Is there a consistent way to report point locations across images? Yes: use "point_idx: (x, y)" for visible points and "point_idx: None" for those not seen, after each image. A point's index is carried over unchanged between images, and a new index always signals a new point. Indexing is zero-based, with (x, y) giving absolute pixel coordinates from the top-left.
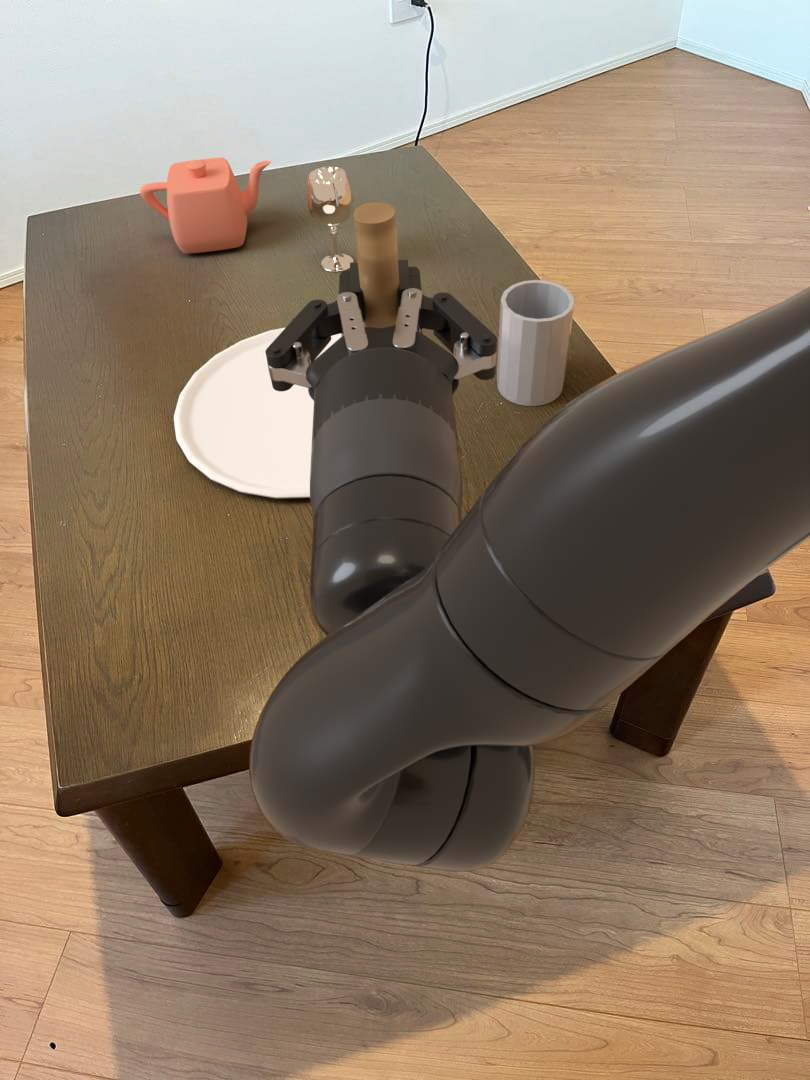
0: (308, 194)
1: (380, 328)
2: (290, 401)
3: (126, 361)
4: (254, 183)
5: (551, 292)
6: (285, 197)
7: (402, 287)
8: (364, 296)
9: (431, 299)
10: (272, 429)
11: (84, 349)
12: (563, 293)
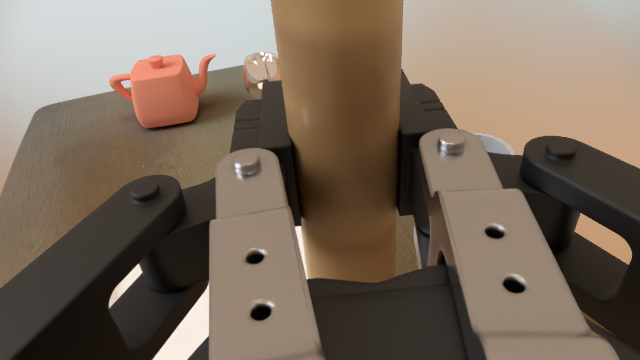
0: (244, 74)
1: (376, 284)
2: None
3: (73, 224)
4: (203, 71)
5: (483, 143)
6: (231, 84)
7: (411, 128)
8: (301, 158)
9: (504, 158)
10: (203, 295)
11: (38, 214)
12: (498, 143)
